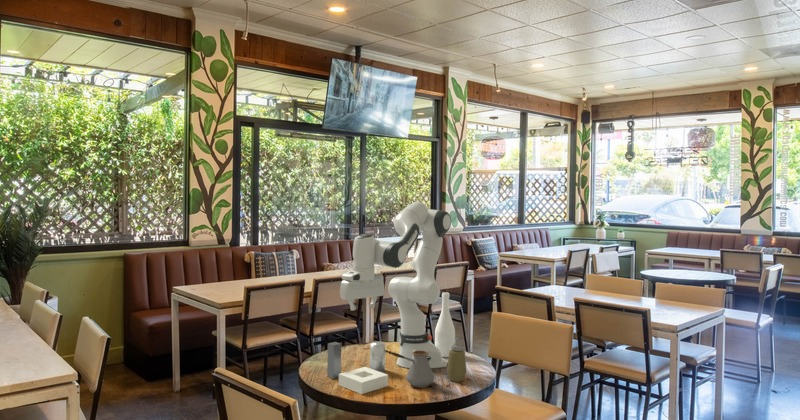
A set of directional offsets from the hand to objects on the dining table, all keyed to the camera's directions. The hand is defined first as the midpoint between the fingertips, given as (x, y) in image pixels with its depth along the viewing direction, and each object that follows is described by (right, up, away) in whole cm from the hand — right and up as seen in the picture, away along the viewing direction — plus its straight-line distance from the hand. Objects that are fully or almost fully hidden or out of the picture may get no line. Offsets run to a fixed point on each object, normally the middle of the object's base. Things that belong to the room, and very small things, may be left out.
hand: (362, 308), depth 225 cm
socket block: (0, -31, 0) cm, 31 cm away
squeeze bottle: (+39, -31, +8) cm, 50 cm away
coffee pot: (+18, -31, +1) cm, 36 cm away
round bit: (+5, -30, +19) cm, 36 cm away
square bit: (-12, -30, +10) cm, 34 cm away
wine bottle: (+36, -30, +44) cm, 65 cm away
